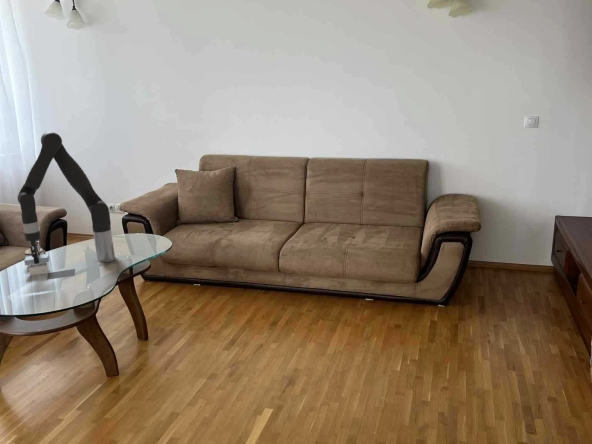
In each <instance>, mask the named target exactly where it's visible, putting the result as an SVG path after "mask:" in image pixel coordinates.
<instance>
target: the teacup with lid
mask: <svg viewBox="0 0 592 444" xmlns="http://www.w3.org/2000/svg"><path fill="white" fill-rule="evenodd" d="M43 254H47V253H46V250H44V249H43V248H42V247H40V255H43ZM24 255H25V258H26V257H28V256H32V254H31V249H30V248H29V249H27V250H25V251H24ZM34 255H35V253H34ZM26 266H27V268H29V265H26Z"/></svg>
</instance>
